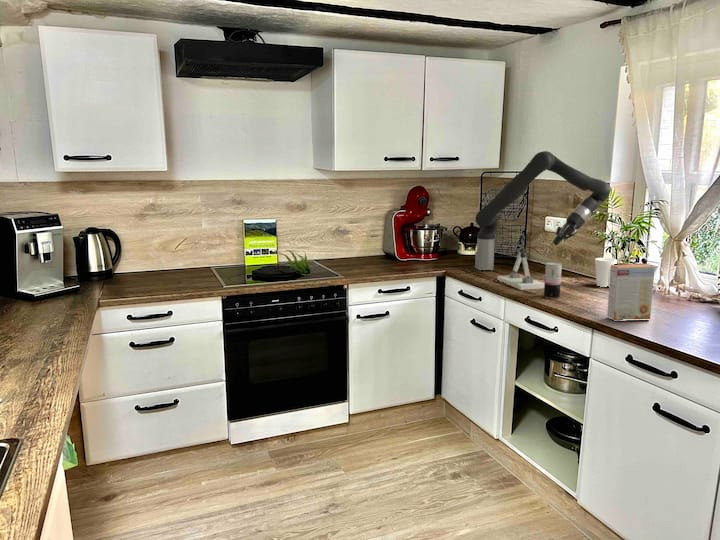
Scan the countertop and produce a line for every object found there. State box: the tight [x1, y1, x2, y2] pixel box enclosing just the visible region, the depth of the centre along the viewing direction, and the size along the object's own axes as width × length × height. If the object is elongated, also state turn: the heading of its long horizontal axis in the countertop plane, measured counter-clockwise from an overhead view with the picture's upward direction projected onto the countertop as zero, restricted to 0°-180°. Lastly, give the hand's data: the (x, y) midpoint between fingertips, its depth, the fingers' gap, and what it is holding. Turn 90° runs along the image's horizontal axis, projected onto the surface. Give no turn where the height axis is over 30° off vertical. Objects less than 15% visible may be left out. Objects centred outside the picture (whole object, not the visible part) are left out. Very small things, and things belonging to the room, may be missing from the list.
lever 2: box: [520, 252, 531, 278], centre depth 257 cm, size 3×3×13 cm
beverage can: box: [543, 261, 562, 300], centre depth 238 cm, size 6×7×15 cm
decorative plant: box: [274, 248, 311, 275], centre depth 296 cm, size 18×30×15 cm, turn 19°
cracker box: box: [606, 263, 655, 320], centre depth 203 cm, size 14×6×21 cm, turn 92°
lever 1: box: [511, 247, 526, 273], centre depth 269 cm, size 3×3×13 cm
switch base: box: [496, 272, 545, 291], centre depth 265 cm, size 13×22×4 cm, turn 15°
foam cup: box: [594, 257, 618, 288], centre depth 257 cm, size 10×9×13 cm
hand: (554, 243), depth 258 cm, fingers closed
